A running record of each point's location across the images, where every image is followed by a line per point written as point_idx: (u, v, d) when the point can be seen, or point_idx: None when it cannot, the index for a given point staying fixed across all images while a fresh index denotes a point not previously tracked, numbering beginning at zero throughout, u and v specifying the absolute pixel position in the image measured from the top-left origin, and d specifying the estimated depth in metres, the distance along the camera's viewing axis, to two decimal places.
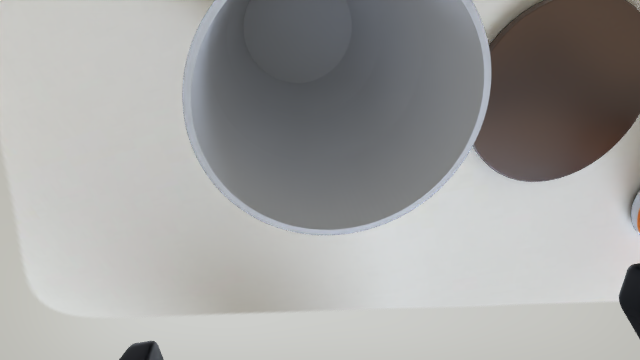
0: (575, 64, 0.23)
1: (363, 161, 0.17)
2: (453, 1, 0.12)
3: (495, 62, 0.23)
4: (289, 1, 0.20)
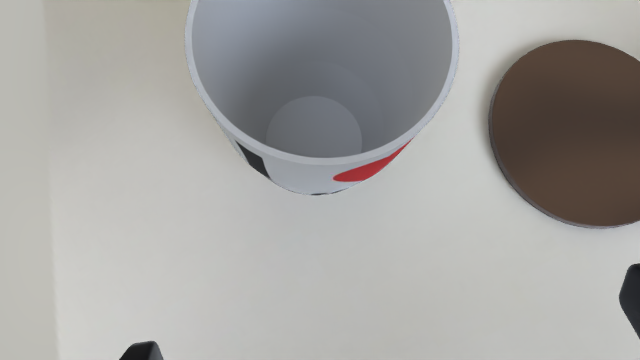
0: (580, 98, 0.24)
1: None
2: None
3: (502, 116, 0.24)
4: (300, 121, 0.24)
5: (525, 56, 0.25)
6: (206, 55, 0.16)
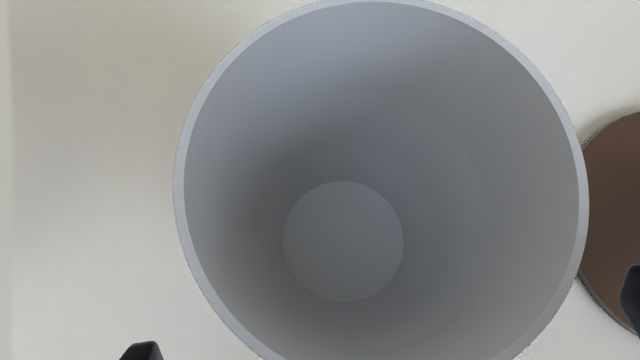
0: None
1: (463, 314, 0.12)
2: (463, 42, 0.11)
3: None
4: (325, 213, 0.19)
5: (605, 130, 0.20)
6: (207, 186, 0.11)
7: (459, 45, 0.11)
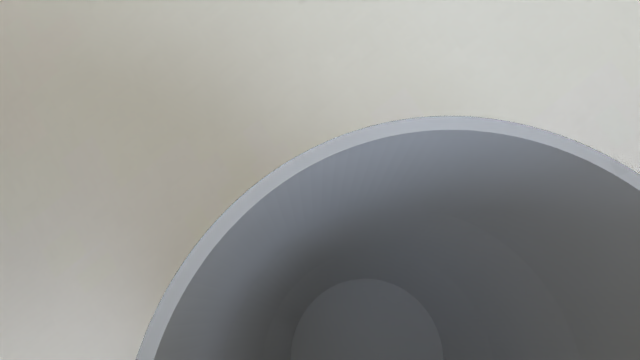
0: None
1: None
2: (585, 184, 0.07)
3: None
4: (344, 322, 0.15)
5: None
6: None
7: (576, 186, 0.07)
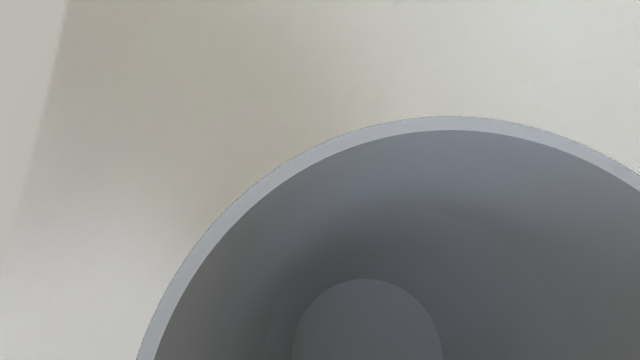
0: None
1: None
2: (584, 185, 0.07)
3: None
4: (344, 322, 0.15)
5: None
6: None
7: (575, 187, 0.07)
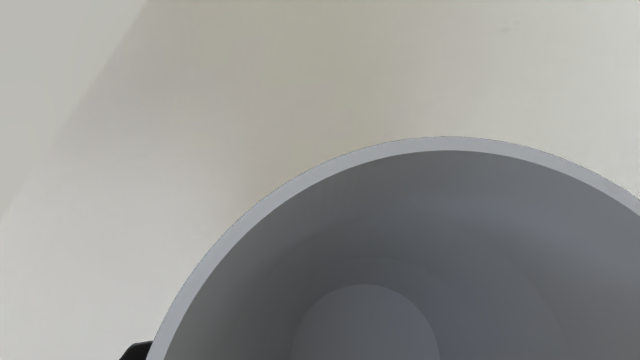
0: None
1: None
2: (579, 203, 0.07)
3: None
4: (343, 327, 0.15)
5: None
6: None
7: (570, 204, 0.07)
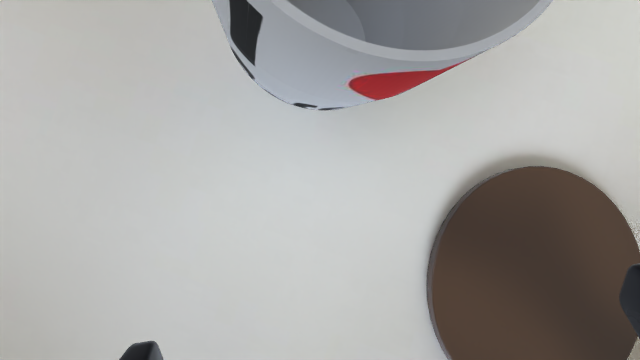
0: (564, 254, 0.20)
1: None
2: None
3: (486, 196, 0.19)
4: None
5: (561, 171, 0.20)
6: None
7: None
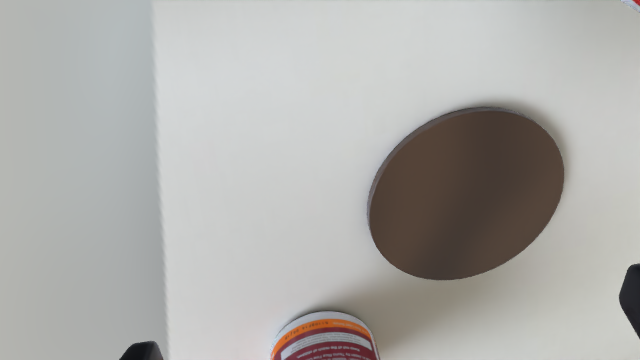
0: (497, 206, 0.24)
1: None
2: None
3: (522, 128, 0.22)
4: None
5: (562, 173, 0.23)
6: None
7: None
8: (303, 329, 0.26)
